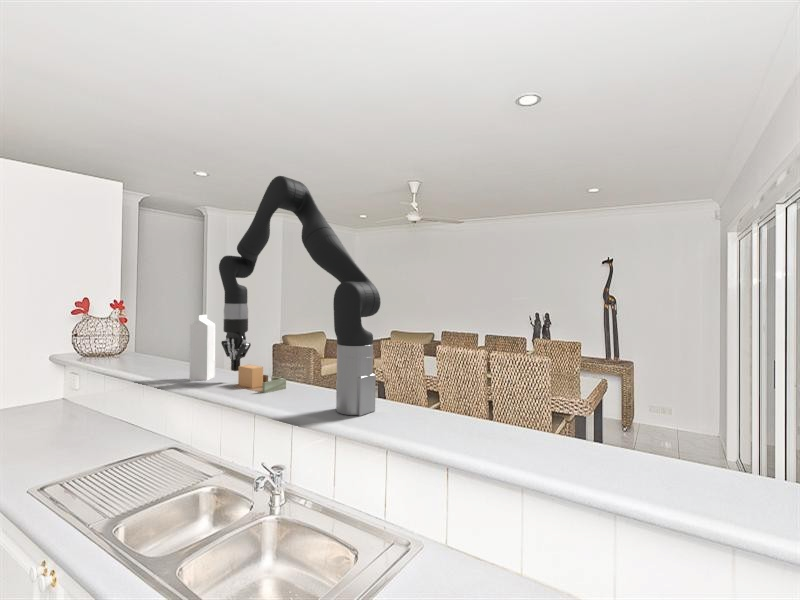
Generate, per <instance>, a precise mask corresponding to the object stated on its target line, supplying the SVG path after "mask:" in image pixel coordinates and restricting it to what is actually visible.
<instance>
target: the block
mask: <svg viewBox="0 0 800 600" xmlns="http://www.w3.org/2000/svg"><path fill="white" fill-rule="evenodd" d="M263 375H264V367H263V366H259V365H255V364H254V365H253V364H244V365H243V364H242V365H240V366H239V371H238V377H237V378H238V380H237V383H238V384H237V385H241V386H245V387H250V388H255V387H260V386H263Z"/></svg>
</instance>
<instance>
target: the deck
mask: <svg viewBox="0 0 800 600" xmlns="http://www.w3.org/2000/svg"><path fill="white" fill-rule="evenodd" d="M270 379H271V380H269V375H268V374H263V386H260V387H255V388H250V387H245V386H241V385H238V384H235V385H233V387H235V388H240V389H244V390H248V391H254V392H258V393H261V394H262V393H263V394H268V393H272V392H276V391H281V390H286V389H287V378H283V377H278V376H271V377H270Z"/></svg>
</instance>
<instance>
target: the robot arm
mask: <svg viewBox="0 0 800 600" xmlns="http://www.w3.org/2000/svg"><path fill="white" fill-rule="evenodd" d="M279 209H282V210H285V211H289V212H291V213H293V214H294V215H295V216H296V217H297V219H298V220H299V221H300V223H301V225H302V229H301V241H302V244H303V246H304V248H305V250H306V252H307V253H308V254H309V256H310V258H311V259H312V260H313V261H314V262H315V264H317V266H319V267H320V268H321V269H322V270H324V271H325V272H326V273H328V274H330V275H331V276H332V277H333V278H335V279H336V280H337V281H338V282H339V285H337V287H336V289H335V291H334V294H333V302H332V303H333V329H334V333H335V337H336V382H335V383H336V388H335V390H336V395H335V396H336V397H335V398H336V399H335V400H336V401H335V403H336V405H335V406H336V409H335V410H336V412H337V413H338V414H341V415H346V416H348V415H349V416H364V415H366V414H369V413H372V412H375V411H376V386H377V385H376V378H377V376H376V375H377V374H376V373H373V369H374V368H373V367H374V365H373V364H374V362H373V361H374V359H373V357H374V335H373V333H372V332H371V331H369V330H367V329H365V327H363V324H362V318H367V317H369V318H370V317H371V316H374V315H376V314H377V313H378V312H379V310H380V308H381V296H380V292H379V291H378V288H377V287H376V286H375V284H374V283H373V282H372V280H370V278H369V277H368V276H367V275H366V273H364V272H363V271H362V269H361V268H360V267H359V266H358V264H357V263H356V262H355V260H354V258H353V257H352V256H351V255H350V253H349V251H348V250H347V249H346V247H345V246H344V244H343V243H342V241H341V240H340V238H339V237H338V235H337V234H336V233H335V231H334V229H333V228H332V227H331V225H330V224H329V222H328V221H327V220H326V218H325V216H324V215H323V213H322V212H321V211H320V209H319V207H318V206H317V204H316V202H315V200H314V197H313V195H312V193H311V192H310V190H309V188H308V187H307V186H306V185H305V183H303V182H302V181H299V180H296V179H293V178H290V177H287V176H284V175H283V176H282V175H277V176H275V177H274V178H272V180H270V182H269V184H268V186H267V187H266V189H265V191H264V194H263V197H262V199H261V201H260V202H259V204H258V208H257V209H256V213H255V215H254V217H253V219H252V222H251V223H250V225H249V227H248V229H247V230H246V231H245V233H244V235H243V236H242V238H241V239H240V241H238V242H239V243H237V245H236V251H237V253H238V255H240V256H237V255H236V256H235V255H225V256H223V257H222V258H221V259H220V260H219V261H220V262H219V264H218V271H219V275H220V279H221V282H222V283H221V284H222V287H223V290H224V306H223V332H224V333H226V334H225V340H222V341H221V342H220V343H221V346H222V348H223V350H224V353H225V355H226V357H227V358H228V357H229V359H230V369H231V371H232V372H237V371H238V372H239V366H241V359H242V358H245V357H246V355H247V353H248V351H249V349H250V348H251V342H247V336H246V333H247V332H249V307H248V288H247V287H246V286H245V285H242V284H239V283H238V279H245V278H248V277H250V276H251V275H252V274H253V272H254V270H255V267H256V264H257V260H258V258H259V256H260V254H261V252H262V251H263V250H264V249H265V247H266V245H267V244H268V242H269V239H270V236H271V219H272V217H273V216H274V214H275V213H276V211H277V210H279Z"/></svg>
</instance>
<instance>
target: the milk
mask: <svg viewBox="0 0 800 600" xmlns="http://www.w3.org/2000/svg"><path fill="white" fill-rule="evenodd" d="M215 377H216V323H215V322H213V321H212V320H210V319H208V314H200V315H198V319H197V320H196V321H194V322H192V323H190V324H189V382H196V381H209V380H211V379H214V378H215Z"/></svg>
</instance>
